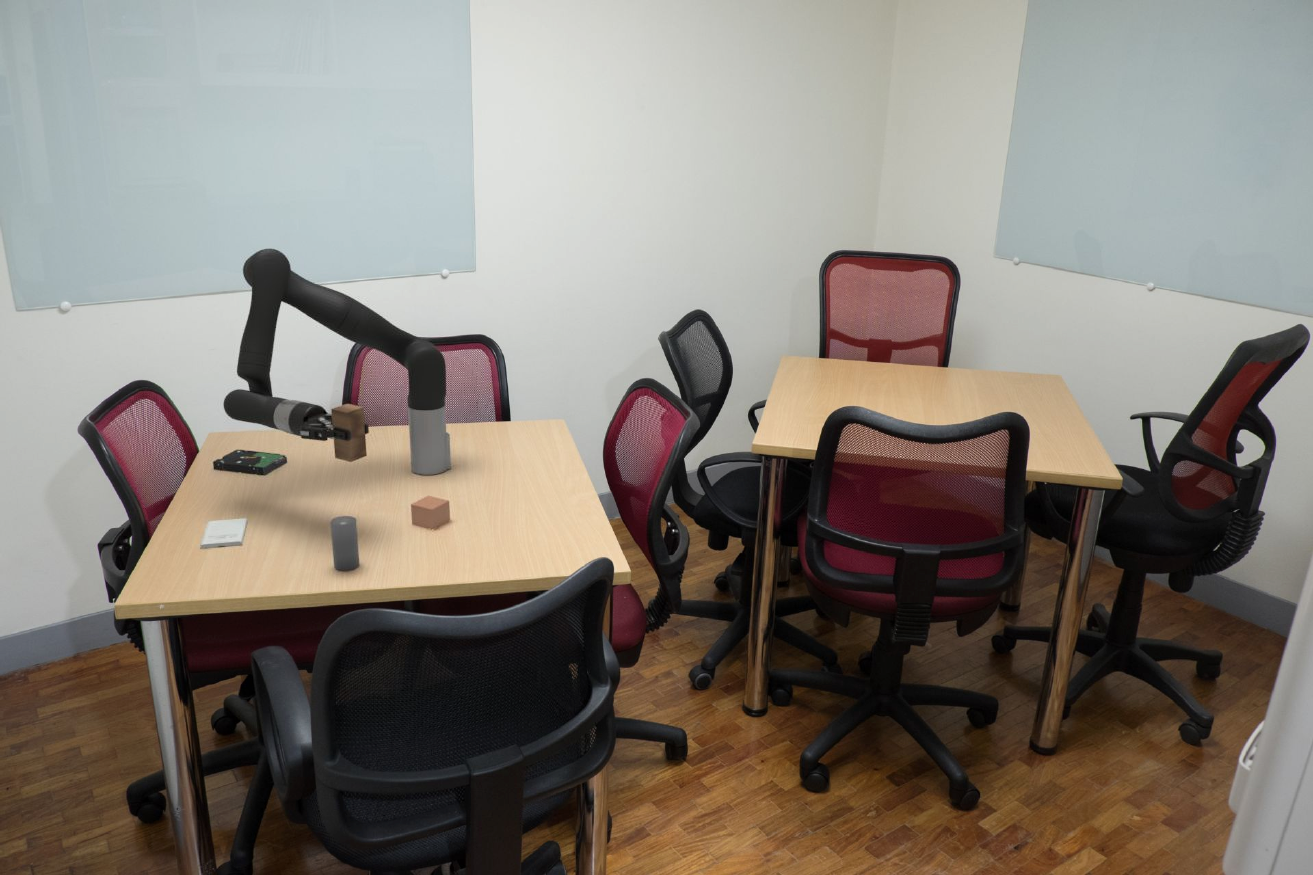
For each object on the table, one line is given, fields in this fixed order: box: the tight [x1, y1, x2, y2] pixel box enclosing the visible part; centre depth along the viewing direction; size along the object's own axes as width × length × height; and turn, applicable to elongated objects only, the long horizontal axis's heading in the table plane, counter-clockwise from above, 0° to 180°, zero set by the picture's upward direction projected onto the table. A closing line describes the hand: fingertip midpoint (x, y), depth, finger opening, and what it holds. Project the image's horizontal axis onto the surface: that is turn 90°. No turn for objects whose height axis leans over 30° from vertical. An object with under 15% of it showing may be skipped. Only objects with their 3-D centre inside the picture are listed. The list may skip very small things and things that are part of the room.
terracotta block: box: [410, 495, 451, 530], centre depth 227 cm, size 6×6×5 cm
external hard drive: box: [199, 517, 248, 550], centre depth 219 cm, size 2×8×12 cm
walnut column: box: [331, 403, 367, 463], centre depth 214 cm, size 5×5×11 cm
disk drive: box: [212, 449, 288, 477], centre depth 258 cm, size 10×3×15 cm
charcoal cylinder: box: [329, 515, 360, 572], centre depth 205 cm, size 5×5×10 cm
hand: (358, 432), depth 213 cm, fingers closed on walnut column, 4 cm apart
